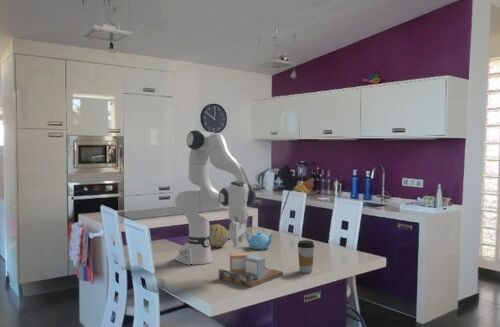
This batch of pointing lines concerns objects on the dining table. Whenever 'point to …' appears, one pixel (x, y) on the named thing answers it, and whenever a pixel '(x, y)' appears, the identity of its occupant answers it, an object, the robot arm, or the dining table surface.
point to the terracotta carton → (237, 262)
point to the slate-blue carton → (255, 267)
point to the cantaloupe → (217, 235)
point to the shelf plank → (248, 277)
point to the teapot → (259, 241)
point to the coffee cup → (305, 256)
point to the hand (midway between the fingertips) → (237, 244)
